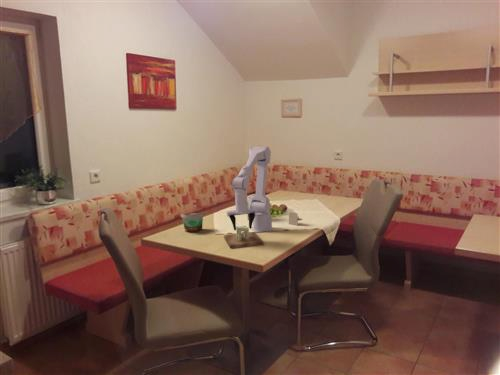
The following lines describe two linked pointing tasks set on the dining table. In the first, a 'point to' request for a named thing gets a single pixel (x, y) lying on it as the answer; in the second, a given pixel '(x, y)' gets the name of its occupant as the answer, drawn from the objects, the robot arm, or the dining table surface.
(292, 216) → the architectural model
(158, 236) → the dining table surface
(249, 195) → the syrup box
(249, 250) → the dining table surface
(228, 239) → the serving board
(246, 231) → the pale slotted block
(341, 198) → the dining table surface
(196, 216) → the food container
